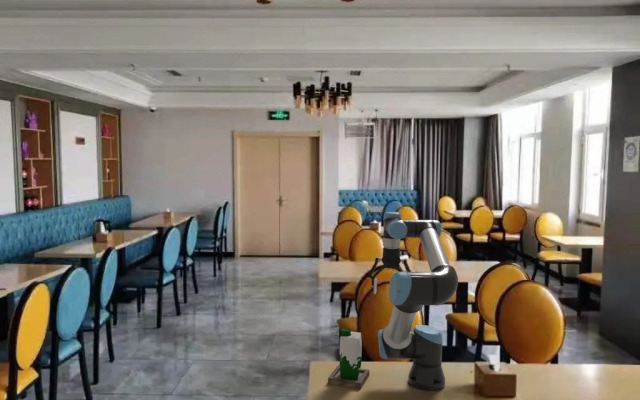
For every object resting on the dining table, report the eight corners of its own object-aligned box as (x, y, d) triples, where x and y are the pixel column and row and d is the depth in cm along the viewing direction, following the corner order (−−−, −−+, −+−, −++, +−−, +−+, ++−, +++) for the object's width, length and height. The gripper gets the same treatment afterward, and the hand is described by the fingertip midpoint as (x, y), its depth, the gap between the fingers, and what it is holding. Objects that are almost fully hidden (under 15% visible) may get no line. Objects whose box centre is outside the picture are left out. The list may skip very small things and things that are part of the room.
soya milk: (340, 371, 227) (341, 325, 225) (361, 372, 226) (362, 327, 224) (338, 379, 219) (338, 332, 217) (359, 381, 217) (360, 334, 215)
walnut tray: (369, 375, 227) (369, 369, 227) (360, 389, 214) (360, 383, 213) (338, 370, 231) (338, 365, 231) (327, 383, 218) (328, 377, 218)
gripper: (421, 247, 232) (419, 295, 234) (365, 243, 239) (364, 289, 241) (419, 250, 225) (417, 299, 227) (361, 246, 232) (360, 294, 234)
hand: (390, 294), depth 234 cm, fingers open, 13 cm apart
